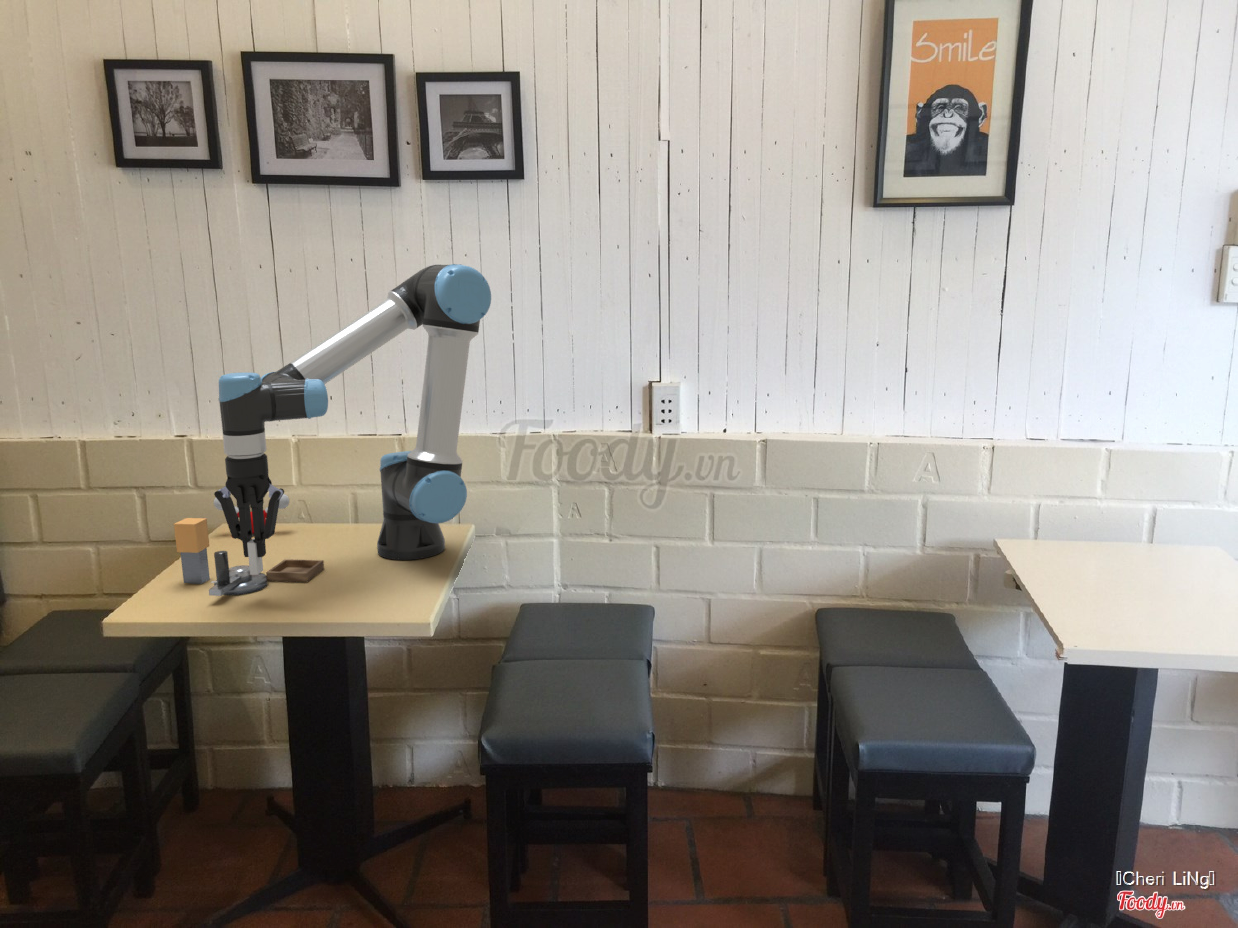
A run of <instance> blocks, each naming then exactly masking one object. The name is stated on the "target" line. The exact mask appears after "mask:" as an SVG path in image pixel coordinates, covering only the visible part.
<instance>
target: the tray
mask: <svg viewBox="0 0 1238 928" xmlns="http://www.w3.org/2000/svg"><path fill="white" fill-rule="evenodd" d="M324 563H325V561H324V560H321V559H289V558H288V559H287V558H285V559H283V560H281V561H280V562H278V563H277V564H276V565H274V566H273V567H272V568H270V569H268V570H267V571H266V572H265V575H266V576H267V583H268V582H270V583H271V582H272V583H273V582H274V583H276V582H277V583H302V584H303V583H304V584H305V583H306V584H307V583H309V582H311V580H313V579H314V578H315V577H316V576H318V575H319V574H320V573H321V572H322V571H324V570H325V564H324Z"/></svg>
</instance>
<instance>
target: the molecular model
mask: <svg viewBox="0 0 1238 928" xmlns="http://www.w3.org/2000/svg"><path fill="white" fill-rule="evenodd" d="M289 505H290V498H289V496H288V495H287V494H285V493H284V494H283V495H282V497H281V499H280V502H279V508H278V510H280V509H281V510H282V509H286V508H287V507H288V506H289ZM213 506H214V507H215V509H216V510H218V511H223V509H222V506H221V503H220V502H219V501H218V499H217V498H216V497H214V500H213ZM234 507H235V510H236V513H237V516H238V518H239V509H238V508H237V505H236V506H235V505H234ZM267 510H268V506H267V507H266V508H264V509H263V512H264V523H265V522H266V516H267ZM250 513H251V524H252V534H254V528H253V517H252V510H250Z"/></svg>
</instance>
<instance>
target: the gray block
mask: <svg viewBox="0 0 1238 928" xmlns="http://www.w3.org/2000/svg"><path fill="white" fill-rule="evenodd" d="M207 548H208V547H207ZM207 548H205V549H204V550H202V551H200V552H198V553H190V552H179V553H180V561H181V570H182V579H183V584H184V583H189V584H190V583H191V584H193V585H203V584H204V583H206V582H208V581H209V580H210V579H211V577H210V568H209V566H210V565H209V559H208V550H207ZM189 584H188V585H189ZM191 584H190V585H191Z"/></svg>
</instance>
